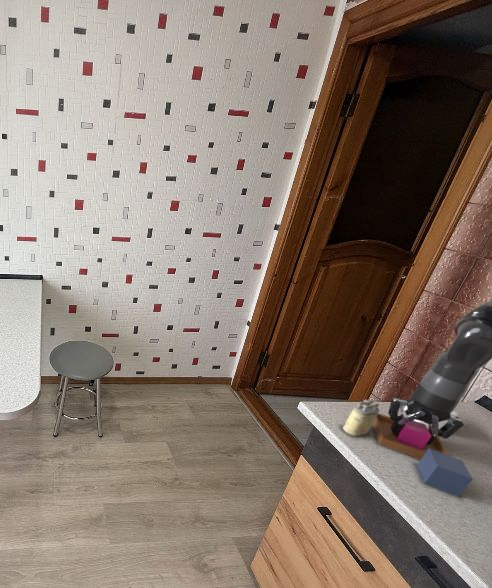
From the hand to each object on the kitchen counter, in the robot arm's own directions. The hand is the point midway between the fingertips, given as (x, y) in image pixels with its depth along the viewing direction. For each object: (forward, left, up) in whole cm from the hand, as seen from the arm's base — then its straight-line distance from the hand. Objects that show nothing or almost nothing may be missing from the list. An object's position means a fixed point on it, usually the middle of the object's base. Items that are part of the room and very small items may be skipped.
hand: (408, 437), depth 90 cm
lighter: (+12, +4, -1) cm, 13 cm away
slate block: (-3, +12, -1) cm, 12 cm away
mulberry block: (0, 0, -1) cm, 1 cm away
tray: (0, 0, -1) cm, 1 cm away
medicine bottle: (-7, -14, -1) cm, 16 cm away
